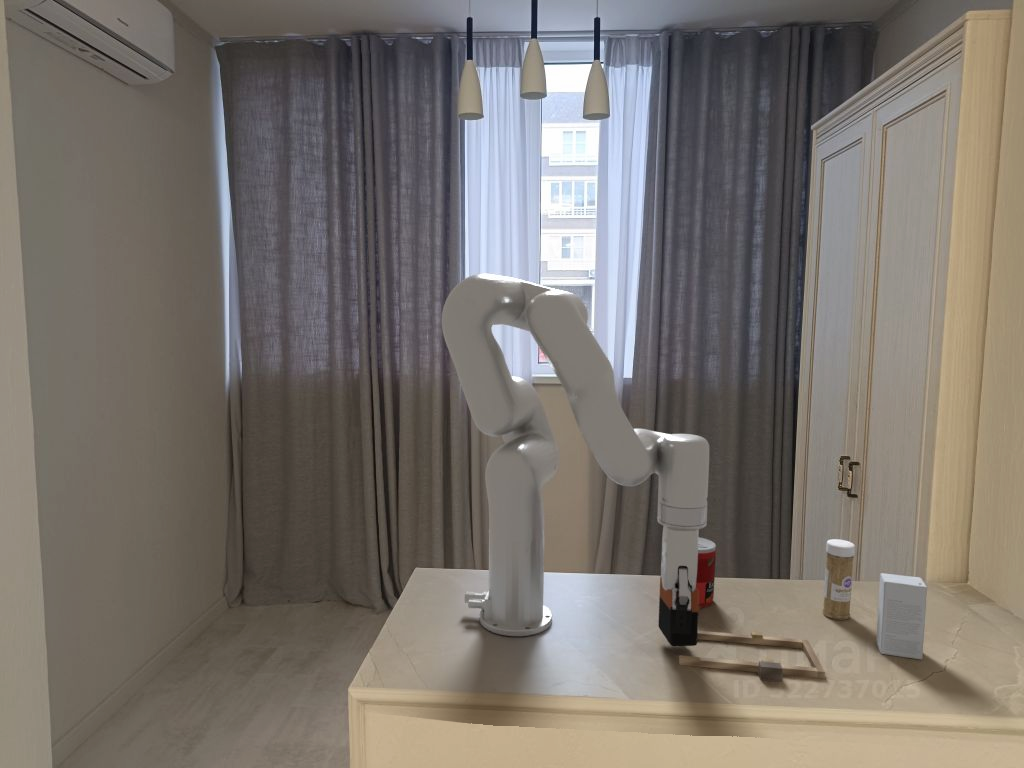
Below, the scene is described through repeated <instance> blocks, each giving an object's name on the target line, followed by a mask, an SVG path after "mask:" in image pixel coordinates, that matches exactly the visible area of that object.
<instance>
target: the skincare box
mask: <svg viewBox="0 0 1024 768" xmlns="http://www.w3.org/2000/svg"><path fill="white" fill-rule="evenodd" d="M878 589H879V591H878V606H877V607H878V608H877V625H876V645H877V648H878V651H879V653H880V654H881V655H888V656H889V655H890V656H895V657H901V658H910V659H915V660H923V656H924V655H923V653H924V643H925V642H924V637H925V629H926V628H925V624H926V609H927V596H928V586H927V585H926V583H925V582H924V580H923V579H922V578H921V576H920V577H919V576H908V575H900V574H894V573H893V574H892V573H883V572H881V573H880V574H879V588H878Z"/></svg>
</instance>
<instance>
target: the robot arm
mask: <svg viewBox="0 0 1024 768" xmlns="http://www.w3.org/2000/svg"><path fill="white" fill-rule="evenodd" d="M588 317H589V313H588V310H587V306H586V305H585V302H584V301H583V300H582V298H580V297H579V296H578V295H576V294H575V293H572V292H570V291H566V290H561V289H555V288H551V287H547V286H543V285H540V284H536V283H533V282H530V281H525V280H522V279H518V278H514V277H510V276H504V275H496V274H492V273H491V274H490V273H479V274H478V273H477V274H473V275H470V276H467V277H466V278H464V279H463V280H460V282H458V283H457V284H456V285H455V286H454V287H453V289H452V290H451V291H450V293H448V296H447V297H446V300H445V303H444V305H443V308H442V311H441V328H442V334H443V338H444V342H445V343H446V344H445V345H446V347H447V349H448V352H449V354H450V355H449V356H450V357H451V360H452V363H453V365H454V368H455V371H456V374H457V378H458V381H459V383H460V385H461V389H462V392H463V394H464V398H465V401H466V403H467V406H468V409H469V411H470V416H471V418H472V420H473V422H474V424H475V426H476V428H477V429H478V430H479V432H481V433H482V434H484V435H485V436H489V437H500V436H501V438H502V440H503V443H504V444H501V445H500V446H499V447H498V448H496V449H495V450H494V451H493V452H492V453H491V455H490V457H489V458H488V461H487V464H486V467H485V473H484V475H485V476H484V477H485V478H484V480H485V488H486V496H487V501H488V502H487V503H488V591H483V592H482V593H480V592H474V591H465V593H464V603H467V604H468V605H467V607H468V608H469V609H481V610H480V611H479V622H480V625H481V626H482V627H483V628H485V629H486V630H488V631H490V632H491V633H494V634H497V635H502V636H506V637H507V636H508V637H527V636H532V635H537V634H540V633H541V632H544V631H545V630H547V629H548V628H550V626H551V625H552V622H553V613H552V611H551V610H550V609H549V607H547V606H546V605H544V584H545V582H544V577H545V526H546V525H545V521H546V520H545V519H546V518H545V508H544V500H543V492H542V491H543V490H542V489H543V486H544V485H545V484H546V483H548V481H550V480H551V479H552V478H553V477H554V476H555V475H556V473H557V471H558V469H559V465H560V451H559V447H558V443H557V441H556V438H555V435H554V432H553V429H552V427H551V424H550V421H549V419H548V416H547V413H546V410H545V408H544V405H543V401H542V400H541V397H540V395H539V393H538V391H537V390H536V388H535V387H534V386H533V385H532V384H531V383H530V382H529V381H528V380H526V379H524V378H522V377H519V376H513V375H511V372H510V369H509V368H508V367H509V366H508V364H507V362H506V358H505V355H504V353H503V350H502V348H501V346H500V344H499V343H498V341H497V339H496V338H495V336H494V334H493V329H492V327H493V326H495V325H497V326H498V325H505V326H510V327H513V328H516V329H520V330H524V331H526V332H530V334H531V336H532V338H533V339H534V341H535V343H536V344H537V346H538V348H539V349H540V351H541V353H542V354H543V356H544V358H545V359H546V360H547V361H546V362H547V363H548V364H549V366H550V367H551V369H552V370H553V372H554V374H555V377H556V378H557V379H558V380H559V382H560V384H561V386H562V388H563V389H564V392H565V393H566V395H567V398H568V403H569V406H570V409H571V411H572V414H573V417H574V419H575V422H576V425H577V428H578V429H579V431H580V433H581V435H582V438H583V440H584V441H585V444H586V445H587V447H588V448H589V450H590V452H591V453H592V455H593V457H594V458H595V460H596V462H597V463H598V465H599V466H600V468H601V470H602V471H603V472H604V473H605V475H606V476H607V477H608V478H609V479H610V480H611V481H613V482H614V483H616V484H617V485H619V486H623V487H635V486H638V485H641V484H642V483H644V482H645V481H647V479H648V478H649V477H650V476H651V475H653V474H656V475H657V476H658V485H657V486H658V491H657V492H658V493H657V517H656V518H657V520H656V521H657V523H658V524H660V525H661V526H663V527H662V540H661V541H662V542H661V561H660V577H661V578H662V585H663V588H664V589H665V590H666V591H667V590H668V589H670V590H672V607H670V633H674V634H686V635H690V634H691V623H692V608H691V592H693V591H695V588H696V578H697V563H698V537H699V534H700V533H699V532H700V531H699V530H700V529H703V528H706V527H707V524H708V523H707V522H708V501H709V499H708V498H709V496H708V494H709V471H710V470H709V469H710V444H709V442H708V440H707V439H706V438H705V437H703V436H700V435H696V434H691V433H672V434H671V433H664V432H661V431H660V432H659V431H655V430H650V429H646V428H633V426H632V424H631V422H630V421H629V419H628V417H627V416H626V414H625V411H624V410H623V407H622V405H621V403H620V400H619V398H618V395H617V390H616V384H615V382H616V381H615V373H614V368H613V365H612V363H611V362H610V361H611V360H609V358H608V356H607V355H606V353H605V352H604V351H603V348H602V346H600V343H599V341H597V339H596V337H595V336H594V334H593V332H592V331H591V329H590V328H589V326H588V323H589V322H588V321H589V318H588ZM675 585H679V588H675ZM676 593H679V597H678V596H677V598H676Z"/></svg>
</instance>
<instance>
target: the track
mask: <svg viewBox="0 0 1024 768" xmlns="http://www.w3.org/2000/svg"><path fill="white" fill-rule="evenodd" d="M697 640H703V641H714V642H715V641H716V642H727V643H735V644H736V643H738V644H740V643H741V644H747V643H748V644H749V645H759V646H760V645H761V646H770V647H771V646H773V647H785V648H793V649H794V648H795V649H796V648H797V649H802V650H803V652H804V654H805V657H806V658H807V660H808V662H809V664H810V666H811V667H810V666H799V665H791V664H790V665H789V664H788V665H787V664H781V663H780V662H774V660H773V659H766V658H762V659H761V660H760V661H758V662H756V661H747V660H746V661H745V660H744V661H743V660H733V659H725V658H723V659H722V658H713V657H702V656H701V657H700V656H689V655H678V665H680V666H689V667H699V668H700V667H701V668H710V669H720V670H721V669H722V670H731V671H743V672H755V673H758V677H759V680H763V681H773V682H783V681H782V680H783V675H784V676H785V675H786V676H795V677H807V678H816V679H817V678H818V679H825V677H826V671H825V669H824V668H823V666H822V663H821V662H820V660H819V658H818V657H817V655H816V653H815V651H814V649H813V647H812V645H811V643H810V641H809V640H808V639H798V638H789V637H776V636H764V635H763V632H760V631H759V632H757V631H751V634H741V633H731V632H730V633H728V632H717V631H706V630H698V634H697Z"/></svg>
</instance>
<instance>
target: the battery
mask: <svg viewBox="0 0 1024 768" xmlns="http://www.w3.org/2000/svg"><path fill="white" fill-rule="evenodd" d="M659 578H660V581H659V598H658V599H659V601H658V602H659V603H658V604H659V605H658V624H657V625H658V628H659V630H660V632H661V633H662V634H663V636H664V637H665V639H666V641H667V642H668V644H669V645H670V646H671V647H695V646H697V645H698V639H697V634H698V631H699V628H698V627H699V611H700V610H699V608H700V607H699V590H698V589H697V588H695V591H693V592H691V608H692V623H691V634H690V635H686V634H674V633H670V607H672V590H670V589H668V590H667V591H666V590H665V589H664V588H663V585H662V578H661V576H660V577H659ZM675 588H679V585H675ZM677 596H678V597H679V593H676V598H677Z"/></svg>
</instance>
